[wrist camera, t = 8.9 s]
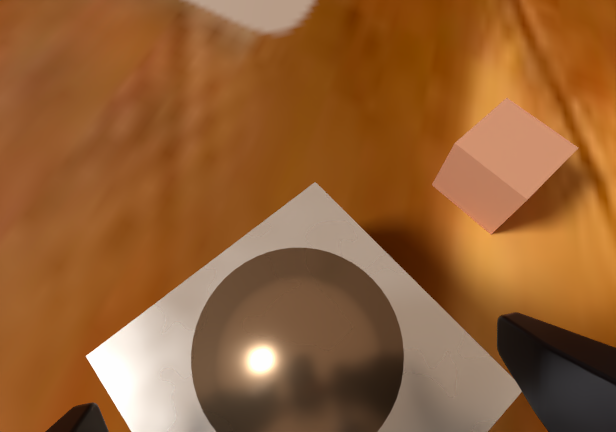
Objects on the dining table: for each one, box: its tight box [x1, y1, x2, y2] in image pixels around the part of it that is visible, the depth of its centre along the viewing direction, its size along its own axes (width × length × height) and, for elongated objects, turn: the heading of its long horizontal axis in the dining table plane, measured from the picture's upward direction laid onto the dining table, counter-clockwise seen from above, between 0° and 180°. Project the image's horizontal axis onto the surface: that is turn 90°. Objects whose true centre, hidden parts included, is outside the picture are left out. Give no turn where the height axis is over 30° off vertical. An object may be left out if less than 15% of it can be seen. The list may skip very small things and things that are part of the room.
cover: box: [86, 182, 522, 432], centre depth 13 cm, size 10×10×11 cm
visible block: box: [432, 98, 578, 234], centre depth 21 cm, size 4×4×4 cm
